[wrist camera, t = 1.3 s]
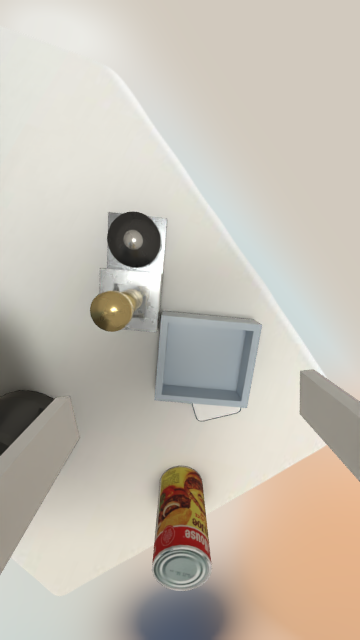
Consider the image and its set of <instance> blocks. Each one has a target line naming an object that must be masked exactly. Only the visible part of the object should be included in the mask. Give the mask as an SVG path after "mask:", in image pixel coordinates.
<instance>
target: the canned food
mask: <svg viewBox="0 0 360 640" xmlns="http://www.w3.org/2000/svg"><path fill="white" fill-rule="evenodd" d="M152 565H153V566H152V572H153V576H154V577H155V579H156V580H157V582H158V583H160V584H161V585H162V586H164V587H166V588H168V589H172V590H177V591H186V590H191V589H194V588H197V587H199V586H201V585H202V584H204V583H205V582H206V581H207V579H208V578H209V576H210V574H211V569H212V566H211V557H210V548H209V539H208V530H207V521H206V512H205V503H204V494H203V485H202V479H201V477H200V475H199V474H198V473H197V472H196V471H195V470H194V469H192V468H189V467H186V466H177V467H173V468H170V469H168V470H167V471H166V472H165V473H164V474H163V475H162V477H161V479H160V486H159V498H158V509H157V520H156V531H155V542H154V554H153V564H152Z"/></svg>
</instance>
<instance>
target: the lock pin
mask: <svg viewBox="0 0 360 640" xmlns="http://www.w3.org/2000/svg"><path fill="white" fill-rule="evenodd" d="M142 301H143V298H142V295H141V293H140V292H139V291H137V290H135V289H128V290H125V291H123V292H119V291H107V292H103V293H101V294H99V295H98V296H96V297H95V298H94V300H93V301H92V304H91V307H90V313H91V317H92V319H93V321H94V323H95V324H96V325H97V326H98V327H99V328H101V329H103V330H105V331H111V332H113V331H118V330H121V329H123V328H124V327H125V326H126V325H127V324H128V323H129V322H130V321H131V319H132V317H133V312H134V311H136V310H137V309H138V308H139V307H140V306H141V304H142Z"/></svg>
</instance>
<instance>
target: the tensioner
mask: <svg viewBox="0 0 360 640" xmlns="http://www.w3.org/2000/svg"><path fill="white" fill-rule="evenodd" d="M166 228H167V218H158V217H148V216H146V215H144V214H142V213H139V212H127V213H123V214H120V213H111V212H109V215H108V236H107V241H108V253H107V268H100V294H101V293H103V292H107V291H119V292H123V291H125V290H128V289H135V290H137V291H139V292H140V293H141V295H142V298H143V301H142V304H141V306H140V307H139V308H138V309H137V310H136V311H134V312H133V317H132V319H131V321H130V322H129V323H128V324H127V325H126V326H125V327H124V328H123V329H126V330H137V331H148V332H157V330H158V328H159V316H160V303H161V291H162V278H163V265H164V253H165V240H166Z"/></svg>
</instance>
